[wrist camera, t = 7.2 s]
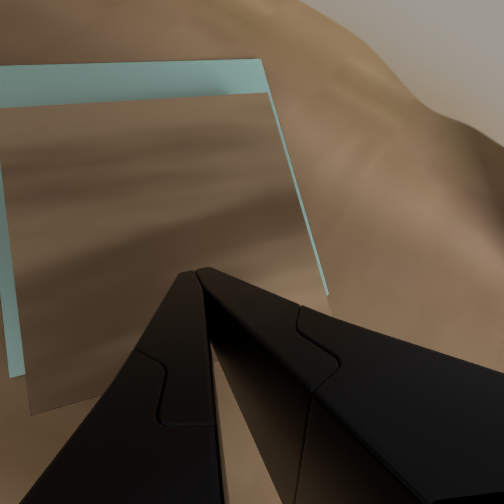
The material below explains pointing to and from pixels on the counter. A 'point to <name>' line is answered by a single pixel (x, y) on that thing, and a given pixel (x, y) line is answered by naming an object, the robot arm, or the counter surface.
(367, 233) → the counter surface
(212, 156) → the walnut block
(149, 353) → the robot arm
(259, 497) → the counter surface
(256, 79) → the mat
